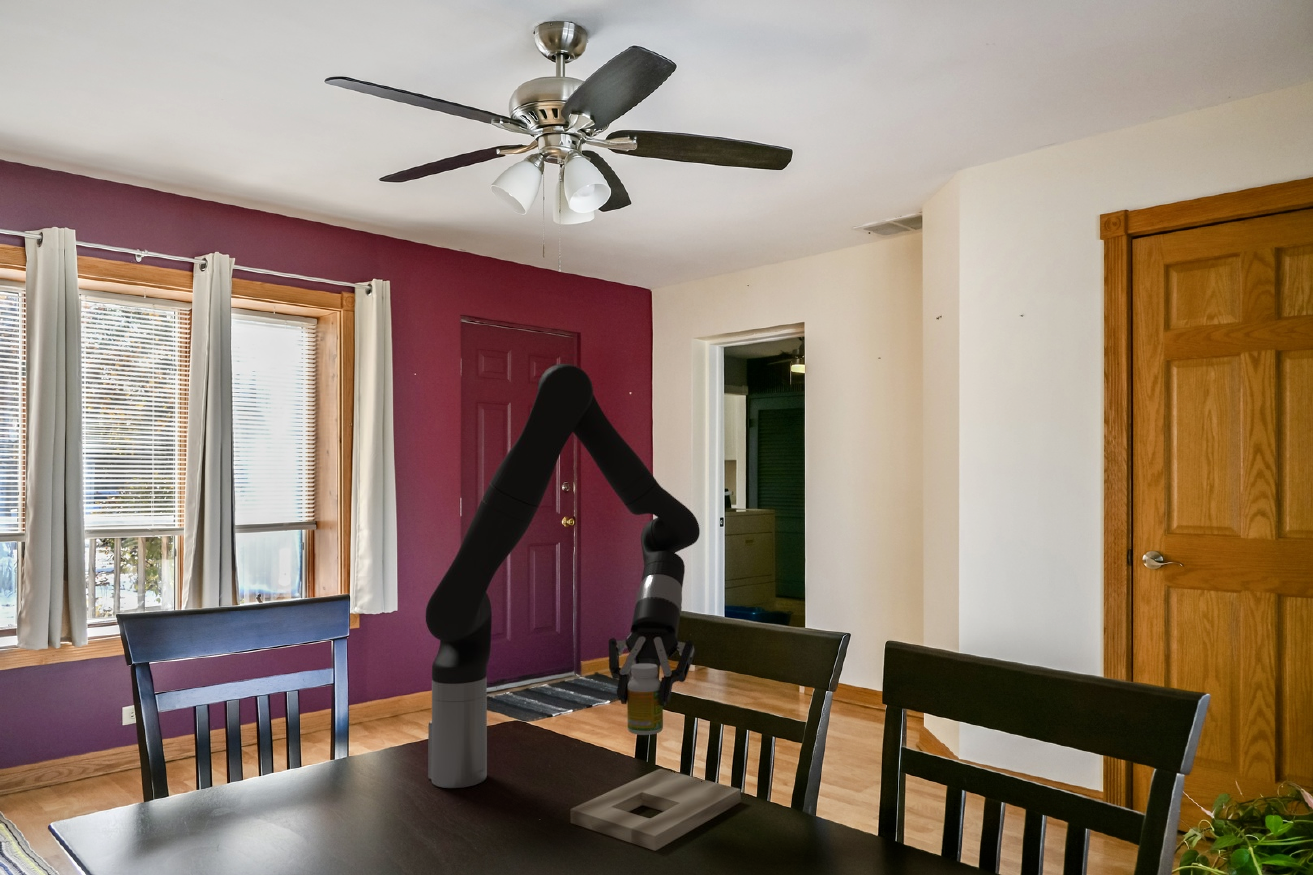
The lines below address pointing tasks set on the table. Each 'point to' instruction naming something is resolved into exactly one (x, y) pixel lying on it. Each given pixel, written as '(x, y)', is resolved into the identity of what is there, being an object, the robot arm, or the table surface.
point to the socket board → (662, 791)
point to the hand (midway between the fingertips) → (642, 701)
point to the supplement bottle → (644, 700)
